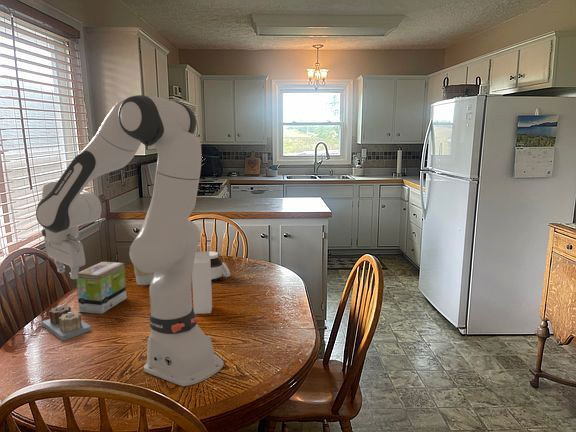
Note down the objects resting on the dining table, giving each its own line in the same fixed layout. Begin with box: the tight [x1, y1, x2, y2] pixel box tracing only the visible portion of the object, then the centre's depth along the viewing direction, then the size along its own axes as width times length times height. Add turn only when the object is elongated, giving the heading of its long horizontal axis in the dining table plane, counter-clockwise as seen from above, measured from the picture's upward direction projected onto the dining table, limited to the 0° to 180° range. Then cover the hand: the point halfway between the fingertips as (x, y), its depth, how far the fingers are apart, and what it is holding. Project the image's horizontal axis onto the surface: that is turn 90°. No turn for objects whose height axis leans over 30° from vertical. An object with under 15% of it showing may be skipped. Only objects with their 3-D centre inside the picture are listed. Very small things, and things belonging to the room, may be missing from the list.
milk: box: [191, 250, 213, 315], centre depth 149 cm, size 6×6×22 cm
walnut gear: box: [48, 304, 72, 324], centre depth 139 cm, size 6×6×4 cm
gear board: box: [41, 304, 92, 341], centre depth 137 cm, size 16×9×6 cm, turn 50°
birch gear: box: [59, 311, 83, 332], centre depth 134 cm, size 6×6×4 cm
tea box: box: [76, 261, 127, 315], centre depth 154 cm, size 15×10×15 cm, turn 168°
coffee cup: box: [133, 265, 155, 286], centre depth 178 cm, size 9×9×15 cm
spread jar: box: [209, 251, 231, 283], centre depth 183 cm, size 12×11×12 cm
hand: (67, 275), depth 131 cm, fingers open, 8 cm apart
